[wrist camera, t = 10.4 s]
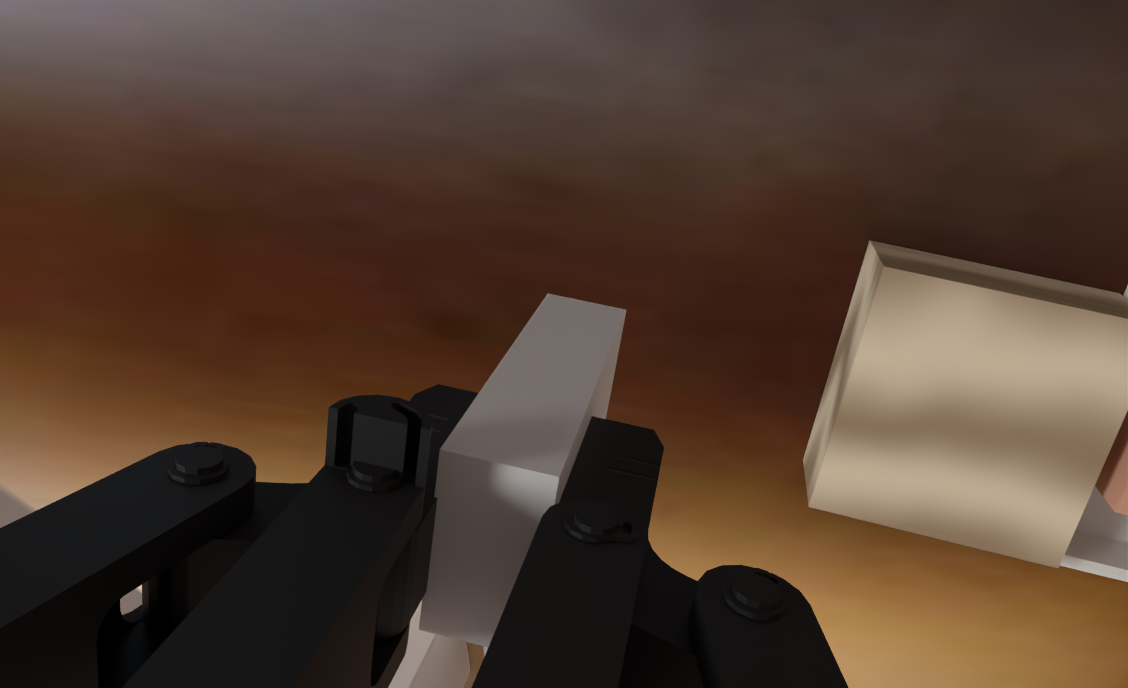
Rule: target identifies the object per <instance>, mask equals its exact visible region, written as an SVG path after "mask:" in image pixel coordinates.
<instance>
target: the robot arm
mask: <svg viewBox="0 0 1128 688" xmlns="http://www.w3.org/2000/svg"><path fill="white" fill-rule="evenodd" d="M625 314H626V310H624V309H620V308H615V307H610V306H605V305H600V304H596V303H591V302H586V301H581V300H576V299H572V298H567V297H562V296H557V295H552V294H547V296H546V297H545V298H544V300H543V301H542V303H541V304H540V306H539V307H538V309H537V310H536V311H535V313H534V314H533V316H532V317H531V319H530V320H529V321H528V323H527V324H526V326H525V327H524V329H523V330H522V332H521V333H520V334H519V336H518V337H517V339H516V340H515V342H514V343H513V345H512V346H511V347H510V349H509V350H508V352H507V353H506V355H505V356H504V358H503V359H502V360H501V362H500V363H499V365H498V366H497V368H496V369H495V371H494V372H493V373H492V375H491V376H490V378H489V379H488V381H487V382H486V384H485V385H484V386H483V388H482V389H481V391H480V392H479V393H475V392H471V391H466V390H462V389H457V388H453V387H448V386H444V385H439V384H438V385H436V386H433V387H431V388H429V389H426V390H424V391H421V392H419V393H417V394H415V395H414V396H413V398H412V399H411V400H410V401H407V400H404V399H401V398H397V397H390V396H382V395H363V396H355V397H351V398H347V399H343V400H340V401H338V402H337V403H335V404H333V405H331V406H330V407H329V412H328V428H327V443H326V458H325V465H324V467H323V468H322V469H321V470H320V471H319V472H318V473H317V474H316V475H315V476H314V478H313V479H312V480H311V481H310V482H309V483H292V484H289V483H268V482H256V465H255V463H254V462H253V460H252V458H251V456H249V455H247V454H246V453H244V452H243V451H241V450H239V449H238V448H234V447H230V446H226V445H222V444H220V443H212V442H210V443H208V442H195V443H192V444H184V445H177V446H174V447H171V448H168V449H165V450H162V451H159V452H157V453H155V454H153V455H150V456H148V457H146V458H144V459H142V460H140V461H138V462H136V463H134V464H132V465H130V466H128V467H126V468H124V469H122V470H120V471H117V472H115V473H113V474H111V475H109V476H107V477H105V478H103V479H101V480H99V481H97V482H95V483H93V484H91V485H89V486H87V487H84V488H82V489H80V490H78V491H76V492H74V493H72V494H70V495H68V496H66V497H64V498H62V499H60V500H58V501H56V502H54V503H51V504H49V505H47V506H45V507H43V508H41V509H39V510H37V511H35V512H33V513H31V514H29V515H27V516H25V517H23V518H21V519H19V520H16V521H14V522H12V523H10V524H8V525H6V526H4V527H2V528H0V688H388V687H389V685H390V683H391V681H392V679H393V677H394V676H395V674H396V672H397V670H398V668H399V666H400V664H401V662H402V660H403V658H404V656H405V654H406V649H407V644H408V637H409V628H410V620H411V618H412V617H413V615H414V613H415V611H416V609H417V608H418V606H419V604H420V602H421V600H422V605H421V614H420V622H419V630H421V631H425V632H429V633H433V634H437V635H441V636H445V637H448V638H452V639H456V640H460V641H464V642H468V643H472V644H476V645H480V646H484V647H488V650H487V652H486V654H485V657H484V659H483V662H482V664H481V667H480V669H479V672H478V674H477V676H476V679H475V681H474V684H473V686H472V688H848V686H847V684H846V681H845V679H844V677H843V675H842V673H841V671H840V668H839V666H838V664H837V662H836V660H835V658H834V655H833V653H832V651H831V649H830V647H829V645H828V642H827V640H826V638H825V636H824V634H823V632H822V629H821V627H820V625H819V623H818V621H817V619H816V616H815V614H814V612H813V610H812V608H811V606H810V604H809V603H808V601H807V600H806V599H805V597H804V596H803V595H802V593H801V592H800V591H799V590H798V589H796V588H795V587H794V586H792V585H791V584H790V583H788V582H787V581H786V580H784V579H783V578H780V577H778V576H777V575H775V574H773V573H769V572H768V571H765V570H762V569H759V568H753V567H748V566H743V565H722V566H719V567H716V568H713V569H711V570H708V571H706V572H705V573H704V575H703V576H702V577H701V578H700V579H699V580H698V581H696V580H694V579H692V578H690V577H687V576H685V575H684V574H682V573H680V572H678V571H676V570H675V569H673V568H671V567H670V566H669V565H667V564H666V563H665V562H664V561H662V560H661V559H660V558H659V557H658V555H657V554H656V553H655V552H654V551H653V549H652V547H651V545H650V543H649V540H648V528H649V523H650V517H651V512H652V507H653V502H654V497H655V491H656V486H657V481H658V476H659V471H660V465H661V460H662V455H663V450H664V447H663V445H662V443H661V442H660V440H659V438H658V436H657V435H656V433H655V431H654V430H652V429H648V428H643V427H639V426H634V425H630V424H625V423H621V422H616V421H612V420H607V419H606V414H607V409H608V404H609V399H610V393H611V388H612V383H613V378H614V372H615V367H616V362H617V356H618V351H619V346H620V341H621V335H622V330H623V325H624V320H625ZM140 585H142V605H141V606H139V607H138V608H136V609H135V610H133V611H132V612H129V613H127V614H124V615H122V614H121V611H120V599H121V598H122V597H123V596H124V595H126V594H127V593H129V592H130V591H132V590H134V589H135V588H137V587H139V586H140Z"/></svg>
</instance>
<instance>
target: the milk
mask: <svg viewBox="0 0 1128 688" xmlns="http://www.w3.org/2000/svg"><path fill="white" fill-rule="evenodd" d="M421 605H422V600H421V602H420V604H419V606H418V608H417V609H416V611H415V613H414V615H413V617H412V618H411V620H410V628H409V637H408V644H407V649H406V654H405V656H404V658H403V660H402V662H401V664H400V666H399V668H398V670H397V672H396V674H395V676H394V677H393V679H392V681H391V683H390V685H389V687H388V688H464V686H465V684H466V682H467V679H468V677H469V674H470V662H469V655H468V647H467V642H464V641H460V640H456V639H452V638H448V637H445V636H441V635H437V634H433V633H429V632H425V631H421V630H419V622H420V614H421Z"/></svg>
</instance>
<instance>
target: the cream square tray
mask: <svg viewBox="0 0 1128 688" xmlns="http://www.w3.org/2000/svg"><path fill="white" fill-rule="evenodd" d="M1127 411H1128V299H1126V298H1125V297H1124V296H1122V295H1121V294H1120V293H1115V292H1111V291H1106V290H1101V289H1096V288H1092V287H1087V286H1082V285H1078V284H1073V283H1068V282H1064V281H1059V280H1054V279H1049V278H1045V277H1040V276H1035V275H1031V274H1026V273H1021V272H1017V271H1012V270H1007V269H1002V268H998V267H993V266H988V265H984V264H979V263H974V262H970V261H965V260H960V259H955V258H951V257H946V256H941V255H937V254H932V253H927V252H923V251H918V250H913V249H908V248H904V247H899V246H894V245H890V244H885V243H880V242H876V241H871V240H870V241H869V244H868V248H867V251H866V254H865V257H864V261H863V264H862V267H861V271H860V274H859V277H858V281H857V284H856V287H855V290H854V294H853V297H852V300H851V304H850V307H849V310H848V313H847V317H846V320H845V323H844V327H843V330H842V333H841V337H840V340H839V343H838V346H837V350H836V353H835V356H834V360H833V363H832V366H831V369H830V373H829V376H828V379H827V383H826V386H825V389H824V393H823V396H822V399H821V402H820V406H819V409H818V412H817V416H816V419H815V422H814V425H813V429H812V432H811V435H810V439H809V442H808V445H807V449H806V452H805V455H804V458H803V464H804V472H805V480H806V488H807V496H808V505H809V507H811V508H816V509H820V510H824V511H828V512H832V513H836V514H840V515H844V516H848V517H852V518H856V519H860V520H864V521H868V522H872V523H876V524H880V525H884V526H889V527H893V528H897V529H901V530H905V531H909V532H913V533H917V534H921V535H925V536H929V537H933V538H937V539H941V540H945V541H949V542H953V543H958V544H962V545H966V546H970V547H974V548H978V549H982V550H986V551H990V552H994V553H998V554H1002V555H1006V556H1010V557H1014V558H1018V559H1022V560H1026V561H1031V562H1035V563H1039V564H1043V565H1047V566H1051V567H1055V568H1059V566H1060V564H1061V562H1062V559H1063V557H1064V555H1065V553H1066V550H1067V548H1068V546H1069V543H1070V541H1071V539H1072V537H1073V534H1074V532H1075V530H1076V527H1077V525H1078V523H1079V521H1080V518H1081V516H1082V514H1083V511H1084V509H1085V507H1086V505H1087V502H1088V500H1089V498H1090V495H1091V493H1092V491H1093V489H1094V486H1095V484H1096V482H1097V479H1098V477H1099V475H1100V473H1101V470H1102V468H1103V466H1104V463H1105V461H1106V459H1107V457H1108V454H1109V452H1110V450H1111V447H1112V445H1113V443H1114V440H1115V438H1116V436H1117V434H1118V431H1119V429H1120V427H1121V424H1122V422H1123V420H1124V418H1125V415H1126V413H1127Z"/></svg>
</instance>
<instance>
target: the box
mask: <svg viewBox="0 0 1128 688" xmlns="http://www.w3.org/2000/svg"><path fill="white" fill-rule="evenodd" d="M1123 296H1124V297H1125V298H1126V299H1128V285H1127V288H1126V290H1125V293H1124V295H1123ZM1060 566H1064V567H1068V568H1072V569H1077V570H1081V571H1085V572H1089V573H1093V574H1097V575H1101V576H1105V577H1109V578H1113V579H1117V580H1121V581H1125V582H1128V516H1127V515H1123V514H1120V513H1116V512H1114V511H1113V510H1112V508H1111V507H1110V506H1109V504H1108V503H1107V502H1106V500H1105V499H1104V497H1103V496H1102V495H1101V493H1100V492H1099V491H1098V489H1097V488H1096V487H1095V486H1094V489H1093V491H1092V493H1091V495H1090V498H1089V500H1088V502H1087V505H1086V507H1085V509H1084V511H1083V514H1082V516H1081V518H1080V521H1079V523H1078V525H1077V527H1076V530H1075V532H1074V534H1073V537H1072V539H1071V541H1070V543H1069V546H1068V548H1067V550H1066V553H1065V555H1064V557H1063V559H1062V562H1061V564H1060Z"/></svg>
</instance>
